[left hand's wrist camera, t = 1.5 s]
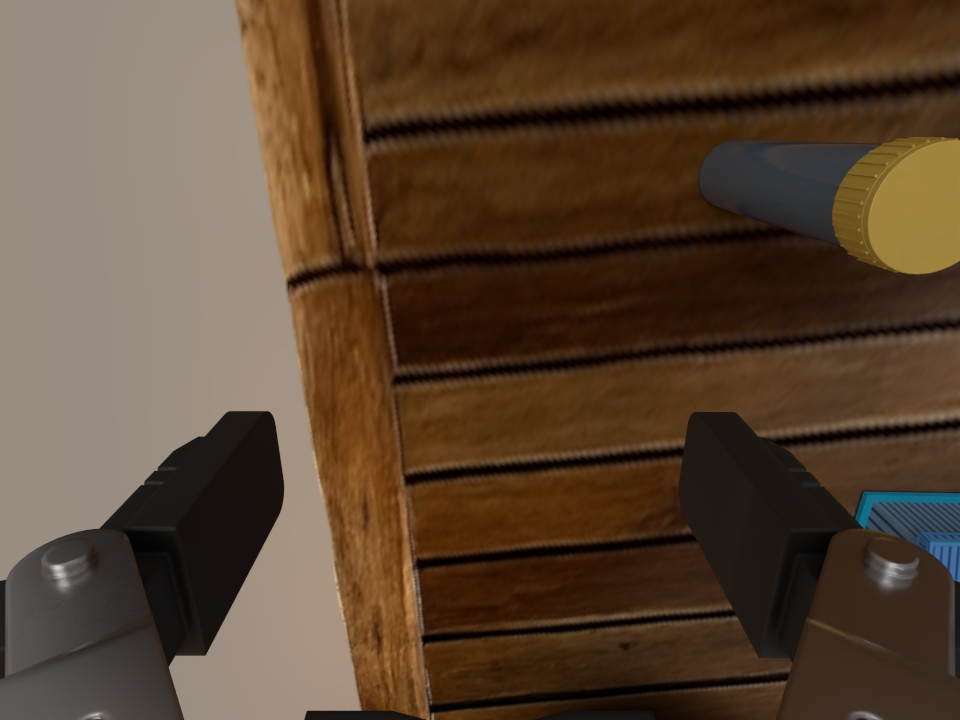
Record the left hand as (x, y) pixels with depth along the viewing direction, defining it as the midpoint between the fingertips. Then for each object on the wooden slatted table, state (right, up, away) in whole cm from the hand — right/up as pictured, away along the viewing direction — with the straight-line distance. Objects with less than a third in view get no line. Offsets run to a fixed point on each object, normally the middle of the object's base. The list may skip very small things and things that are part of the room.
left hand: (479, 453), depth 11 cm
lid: (+16, +7, +10) cm, 20 cm away
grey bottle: (+16, +14, +26) cm, 34 cm away
